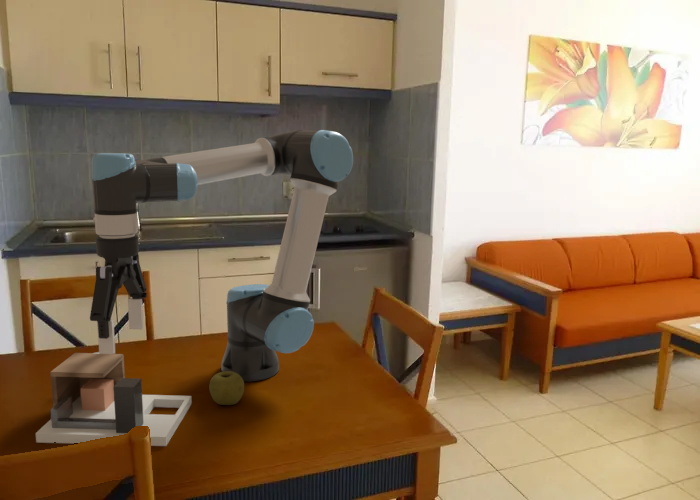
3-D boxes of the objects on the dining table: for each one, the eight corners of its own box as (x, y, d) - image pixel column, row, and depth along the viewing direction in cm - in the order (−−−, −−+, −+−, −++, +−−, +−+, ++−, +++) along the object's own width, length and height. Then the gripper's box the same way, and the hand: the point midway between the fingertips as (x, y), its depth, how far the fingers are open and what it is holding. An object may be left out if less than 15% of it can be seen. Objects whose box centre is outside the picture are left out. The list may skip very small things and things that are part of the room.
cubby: (125, 395, 128) (123, 354, 126) (105, 417, 118) (103, 373, 116) (78, 393, 128) (75, 352, 126) (54, 416, 118) (50, 371, 116)
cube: (114, 399, 125) (113, 379, 125) (105, 410, 121) (103, 389, 120) (92, 399, 125) (91, 378, 125) (82, 409, 121) (80, 388, 120)
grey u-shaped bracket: (149, 415, 119) (147, 371, 117) (136, 433, 112) (133, 387, 110) (67, 412, 119) (64, 369, 117) (48, 431, 112) (44, 384, 110)
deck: (191, 404, 129) (191, 396, 128) (166, 446, 111) (165, 437, 111) (79, 400, 129) (79, 392, 128) (36, 442, 111) (35, 433, 111)
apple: (214, 395, 134) (214, 367, 132) (247, 396, 133) (247, 368, 132) (205, 410, 126) (204, 380, 125) (240, 411, 126) (240, 382, 125)
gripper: (124, 224, 118) (129, 319, 123) (63, 246, 94) (71, 364, 98) (159, 225, 118) (163, 320, 123) (107, 248, 94) (113, 366, 98)
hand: (122, 340), depth 110 cm, fingers open, 13 cm apart
